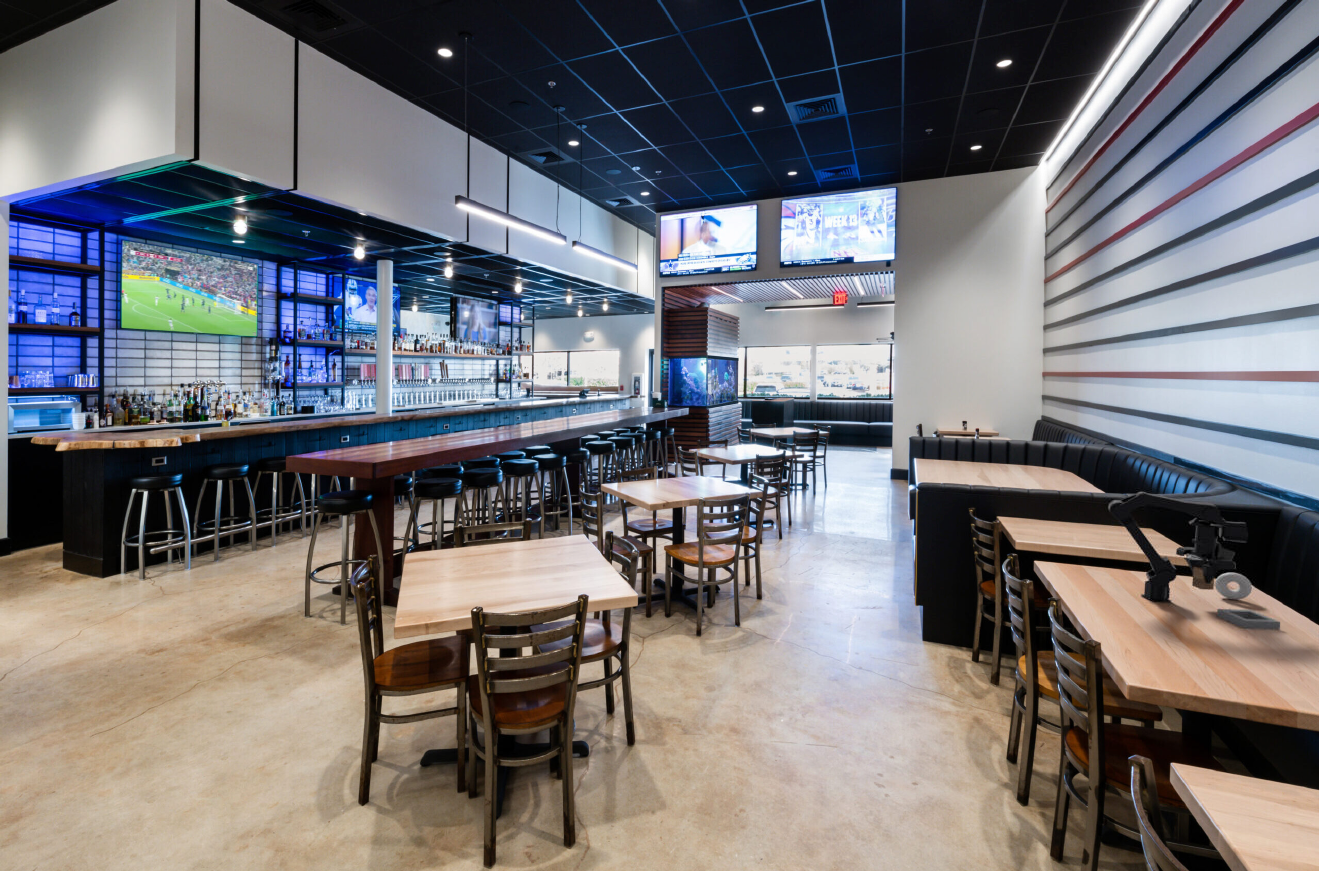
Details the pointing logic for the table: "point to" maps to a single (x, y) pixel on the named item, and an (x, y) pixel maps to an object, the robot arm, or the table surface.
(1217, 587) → the donut
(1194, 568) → the walnut post
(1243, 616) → the square well
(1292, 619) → the table surface
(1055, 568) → the table surface
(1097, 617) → the table surface
